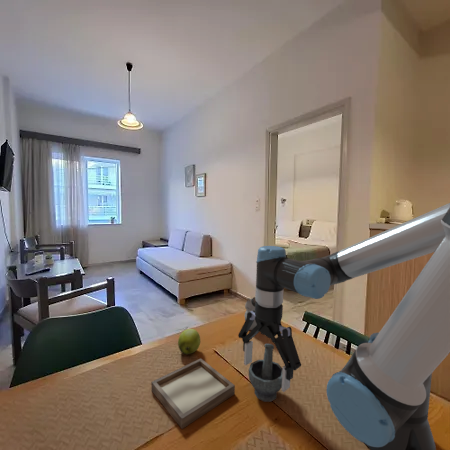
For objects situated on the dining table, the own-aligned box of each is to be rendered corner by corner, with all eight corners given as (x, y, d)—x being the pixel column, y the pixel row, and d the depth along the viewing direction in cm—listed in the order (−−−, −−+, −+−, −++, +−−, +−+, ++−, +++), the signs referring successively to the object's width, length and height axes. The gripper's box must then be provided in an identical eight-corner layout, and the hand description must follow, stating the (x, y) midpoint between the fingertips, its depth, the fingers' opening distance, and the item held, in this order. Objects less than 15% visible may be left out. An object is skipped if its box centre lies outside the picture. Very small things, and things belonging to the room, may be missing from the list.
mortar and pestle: (281, 411, 65) (283, 366, 64) (245, 402, 68) (246, 359, 67) (284, 382, 76) (285, 343, 75) (253, 375, 78) (254, 338, 77)
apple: (201, 345, 94) (201, 324, 94) (198, 360, 85) (198, 337, 85) (180, 344, 95) (181, 323, 94) (175, 359, 86) (175, 336, 85)
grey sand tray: (234, 394, 70) (234, 385, 70) (181, 429, 59) (182, 418, 59) (200, 365, 82) (200, 358, 82) (151, 390, 71) (151, 381, 71)
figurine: (240, 333, 104) (241, 297, 103) (248, 322, 113) (248, 290, 112) (261, 337, 101) (262, 301, 99) (267, 326, 110) (268, 293, 109)
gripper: (318, 314, 63) (312, 394, 65) (245, 287, 81) (243, 349, 83) (301, 323, 58) (296, 409, 60) (228, 292, 76) (226, 358, 78)
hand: (265, 375), depth 72 cm, fingers open, 13 cm apart
